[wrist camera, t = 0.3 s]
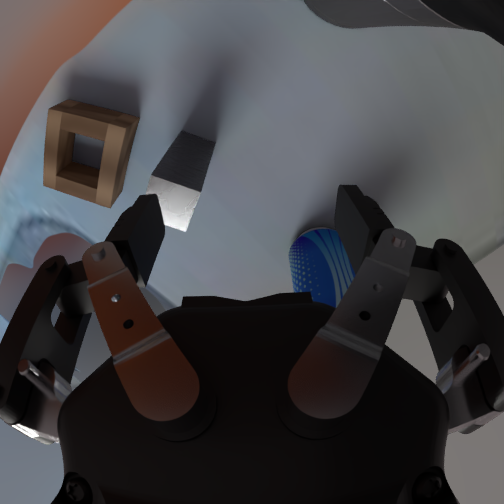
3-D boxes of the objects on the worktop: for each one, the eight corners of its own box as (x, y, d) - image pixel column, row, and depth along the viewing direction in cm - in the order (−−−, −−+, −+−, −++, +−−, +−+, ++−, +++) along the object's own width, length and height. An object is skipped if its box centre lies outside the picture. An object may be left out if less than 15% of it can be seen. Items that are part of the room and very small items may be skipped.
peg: (181, 130, 27) (150, 175, 19) (215, 143, 28) (200, 192, 20) (170, 161, 30) (140, 216, 21) (203, 173, 31) (185, 231, 23)
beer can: (295, 218, 35) (317, 326, 23) (354, 226, 36) (395, 325, 24) (282, 265, 41) (293, 367, 29) (335, 270, 42) (360, 364, 30)
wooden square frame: (67, 99, 23) (48, 108, 20) (139, 117, 26) (126, 128, 23) (59, 170, 29) (43, 185, 26) (122, 190, 32) (110, 208, 29)
